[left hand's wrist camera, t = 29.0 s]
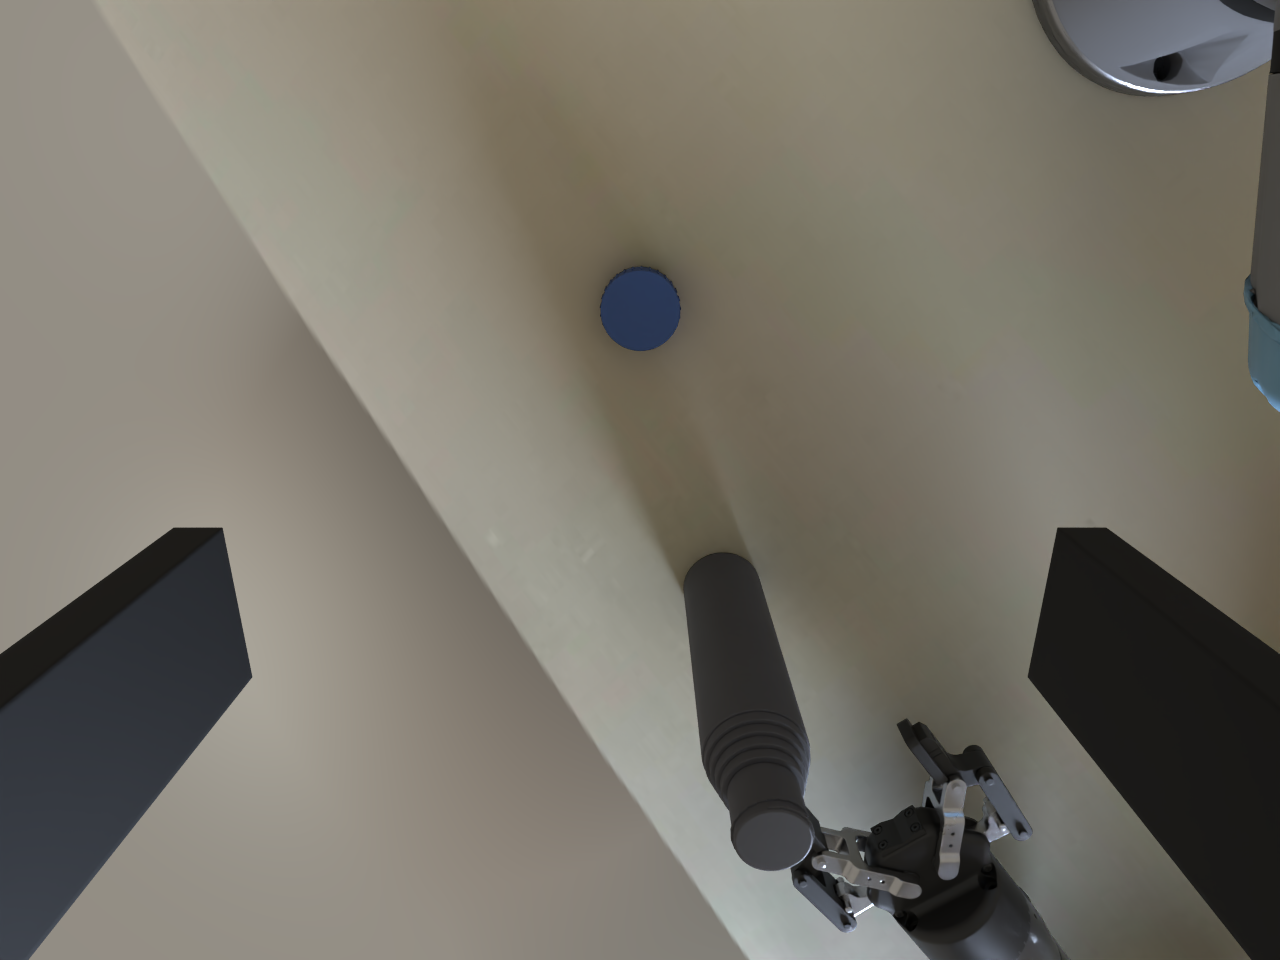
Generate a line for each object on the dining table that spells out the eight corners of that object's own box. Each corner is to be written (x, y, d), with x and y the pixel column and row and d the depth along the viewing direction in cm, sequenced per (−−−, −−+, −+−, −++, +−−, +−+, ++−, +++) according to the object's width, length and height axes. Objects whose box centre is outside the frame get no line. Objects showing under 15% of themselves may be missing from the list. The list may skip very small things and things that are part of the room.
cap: (695, 308, 45) (698, 314, 43) (637, 360, 46) (637, 368, 44) (643, 248, 44) (643, 251, 42) (585, 303, 45) (582, 308, 43)
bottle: (760, 618, 52) (834, 886, 32) (685, 622, 52) (712, 891, 32) (759, 550, 50) (838, 788, 30) (682, 554, 50) (709, 794, 30)
